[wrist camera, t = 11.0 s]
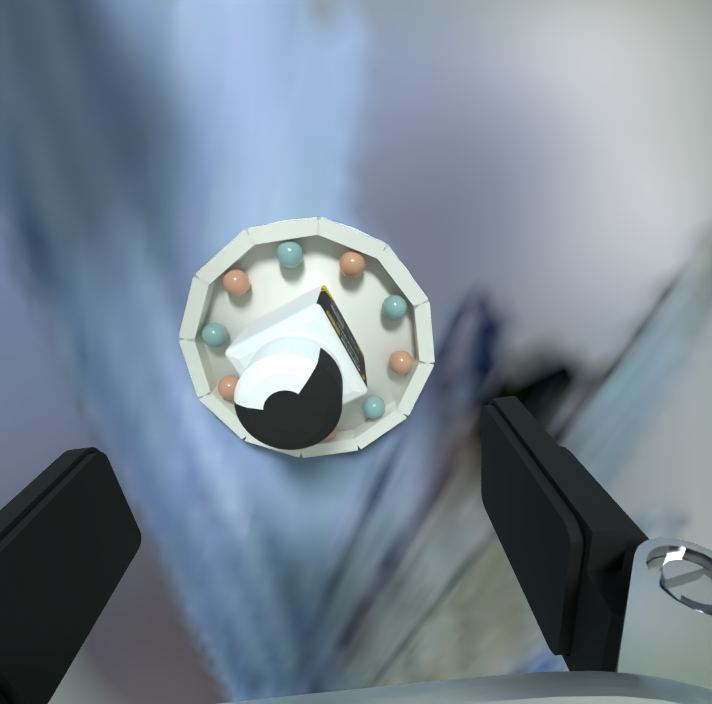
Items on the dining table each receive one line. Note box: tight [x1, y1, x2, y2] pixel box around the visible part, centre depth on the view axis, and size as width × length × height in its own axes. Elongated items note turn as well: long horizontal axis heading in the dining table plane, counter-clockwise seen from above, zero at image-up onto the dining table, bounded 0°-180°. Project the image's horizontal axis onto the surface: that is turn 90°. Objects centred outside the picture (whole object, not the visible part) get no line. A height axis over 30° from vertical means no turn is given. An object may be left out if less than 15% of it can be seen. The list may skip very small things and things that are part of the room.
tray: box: [179, 216, 435, 458], centre depth 32 cm, size 20×20×3 cm
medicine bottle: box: [225, 285, 368, 450], centre depth 26 cm, size 7×7×12 cm
